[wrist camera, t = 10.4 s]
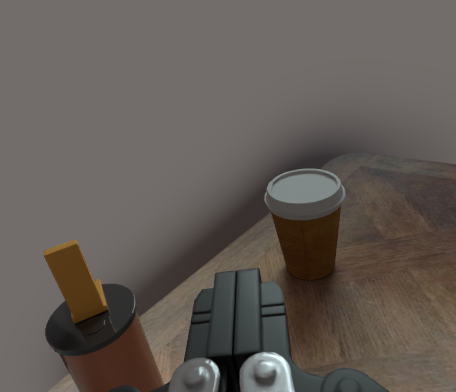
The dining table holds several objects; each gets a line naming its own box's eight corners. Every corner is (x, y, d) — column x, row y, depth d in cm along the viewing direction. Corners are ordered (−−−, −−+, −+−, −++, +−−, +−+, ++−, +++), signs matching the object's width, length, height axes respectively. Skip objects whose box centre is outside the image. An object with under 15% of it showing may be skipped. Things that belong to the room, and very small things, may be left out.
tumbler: (180, 420, 37) (144, 322, 31) (101, 463, 35) (46, 366, 29) (159, 362, 43) (125, 271, 37) (90, 396, 41) (43, 305, 35)
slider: (108, 310, 33) (79, 242, 30) (74, 325, 32) (40, 256, 29) (100, 282, 36) (74, 219, 33) (69, 295, 35) (39, 231, 32)
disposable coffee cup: (298, 236, 59) (291, 162, 53) (360, 255, 53) (359, 174, 47) (260, 273, 53) (247, 195, 47) (324, 299, 47) (318, 213, 41)
